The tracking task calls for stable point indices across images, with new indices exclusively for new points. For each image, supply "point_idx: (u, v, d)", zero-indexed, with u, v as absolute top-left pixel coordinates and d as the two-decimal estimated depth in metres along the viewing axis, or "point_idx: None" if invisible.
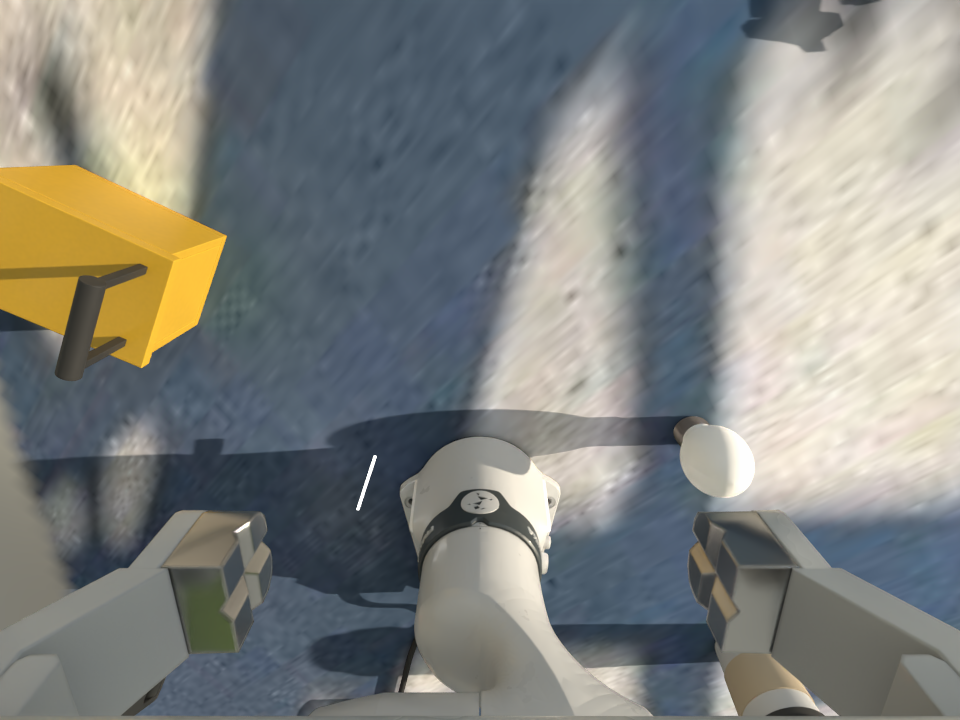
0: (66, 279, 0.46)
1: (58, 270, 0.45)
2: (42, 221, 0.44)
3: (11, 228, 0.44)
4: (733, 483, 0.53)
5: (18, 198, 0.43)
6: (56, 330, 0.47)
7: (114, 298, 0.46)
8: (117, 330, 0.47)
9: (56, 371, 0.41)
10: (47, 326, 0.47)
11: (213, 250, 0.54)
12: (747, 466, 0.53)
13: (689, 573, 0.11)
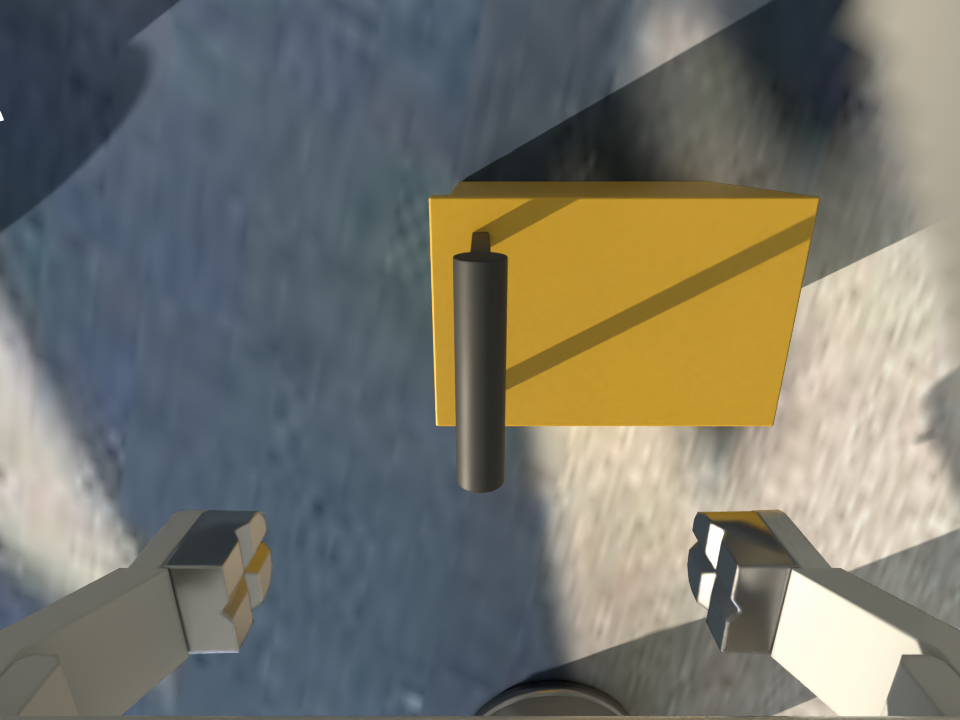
0: (603, 317, 0.24)
1: (619, 326, 0.24)
2: (654, 396, 0.26)
3: (705, 363, 0.25)
4: None
5: (696, 414, 0.26)
6: (608, 202, 0.23)
7: (514, 319, 0.24)
8: None
9: (497, 271, 0.17)
10: (626, 203, 0.23)
11: None
12: None
13: (689, 573, 0.11)
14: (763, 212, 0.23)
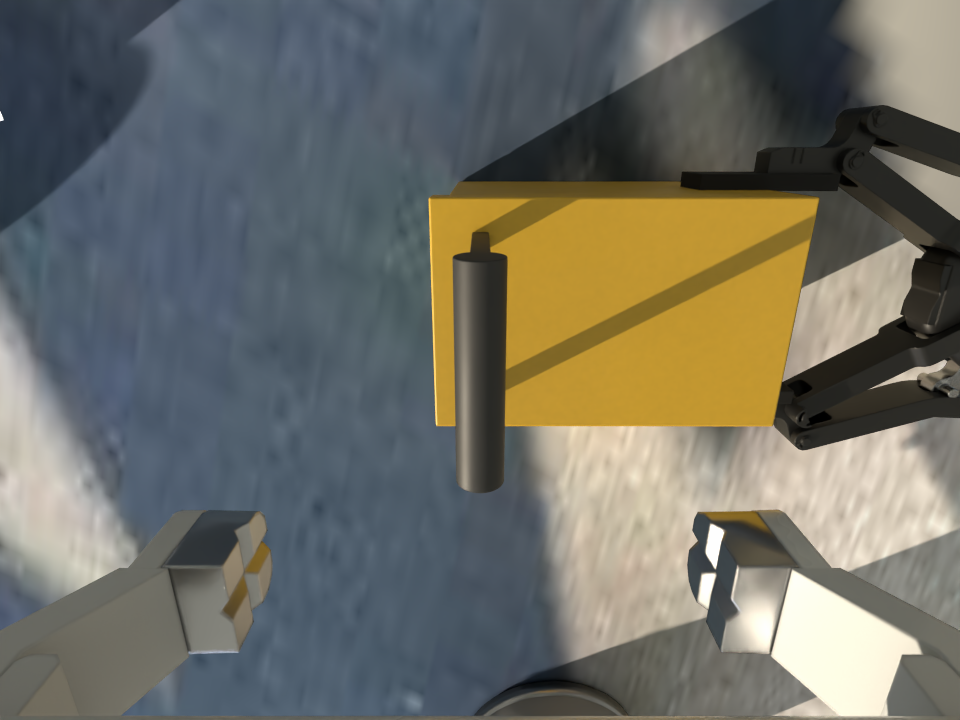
0: (603, 317, 0.24)
1: (619, 326, 0.24)
2: (654, 396, 0.26)
3: (705, 363, 0.25)
4: None
5: (696, 415, 0.26)
6: (608, 203, 0.23)
7: (514, 319, 0.24)
8: None
9: (496, 272, 0.17)
10: (626, 203, 0.23)
11: None
12: None
13: (689, 573, 0.11)
14: (763, 212, 0.23)
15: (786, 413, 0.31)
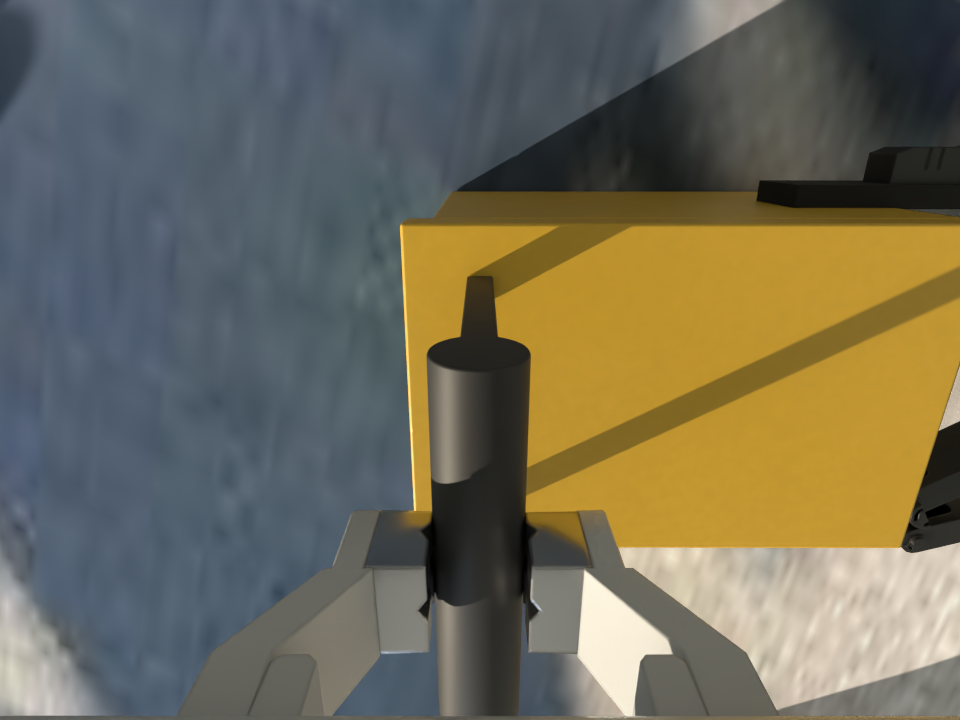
0: (662, 399, 0.16)
1: (686, 412, 0.17)
2: (733, 508, 0.18)
3: (810, 463, 0.17)
4: None
5: (791, 533, 0.18)
6: (677, 232, 0.15)
7: (529, 403, 0.16)
8: (500, 316, 0.15)
9: (510, 387, 0.09)
10: (705, 233, 0.15)
11: None
12: None
13: None
14: (915, 247, 0.15)
15: None
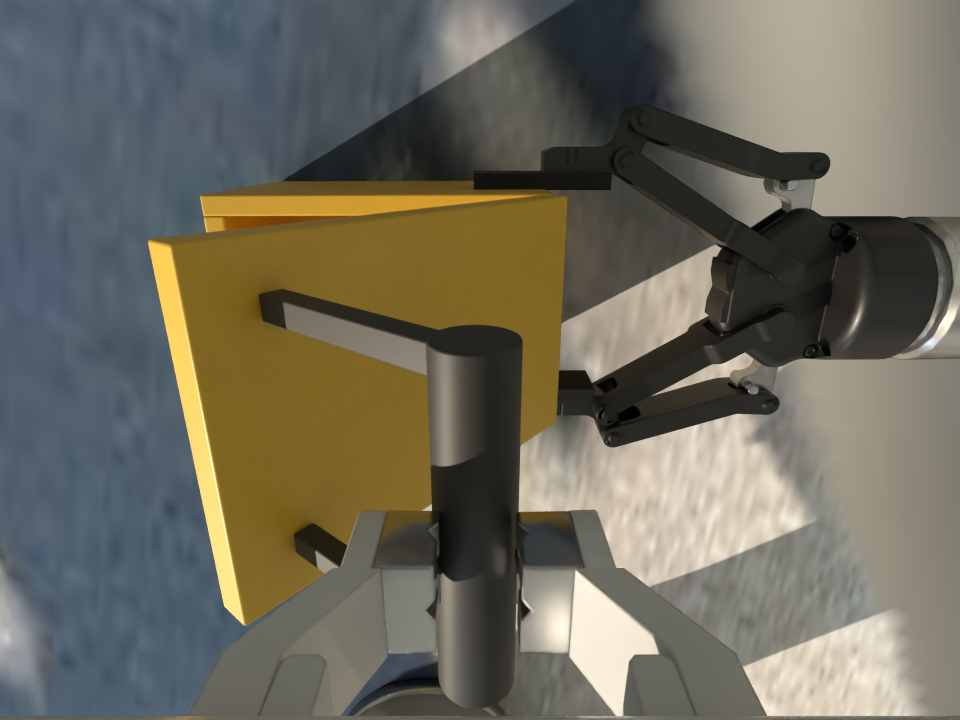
0: None
1: None
2: None
3: None
4: None
5: None
6: (420, 221, 0.17)
7: (335, 410, 0.16)
8: None
9: (522, 357, 0.10)
10: (437, 220, 0.17)
11: None
12: None
13: None
14: (537, 215, 0.22)
15: (593, 411, 0.31)
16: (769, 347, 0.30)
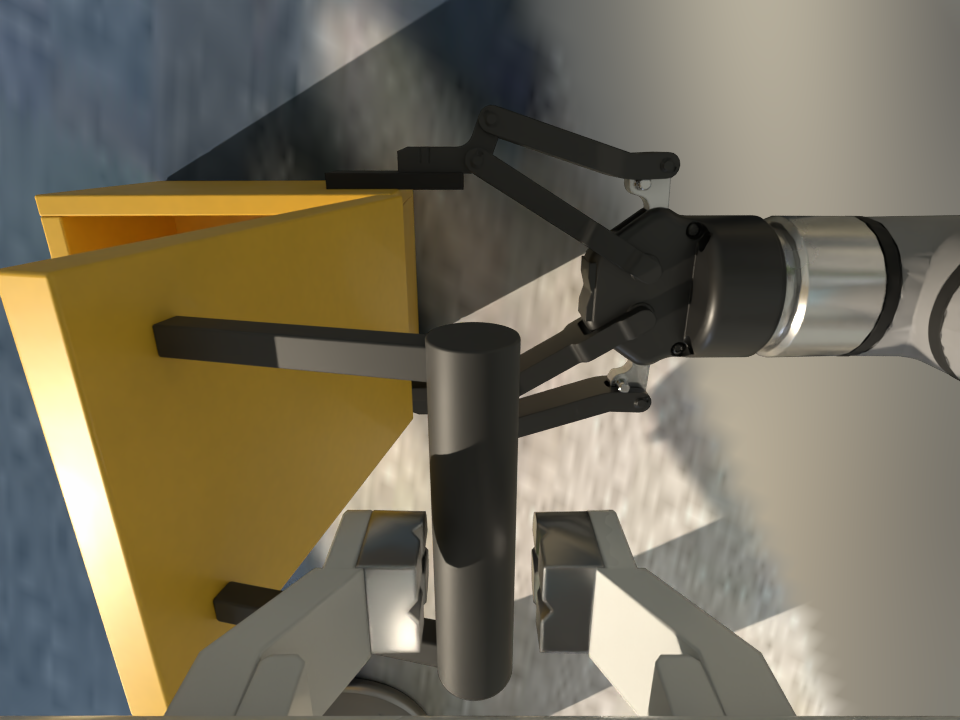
0: (314, 384, 0.17)
1: (327, 387, 0.18)
2: (360, 448, 0.21)
3: (379, 387, 0.23)
4: None
5: (382, 444, 0.23)
6: (293, 227, 0.16)
7: (238, 448, 0.14)
8: (194, 362, 0.12)
9: None
10: (307, 225, 0.16)
11: None
12: None
13: None
14: (383, 216, 0.21)
15: None
16: (636, 345, 0.30)
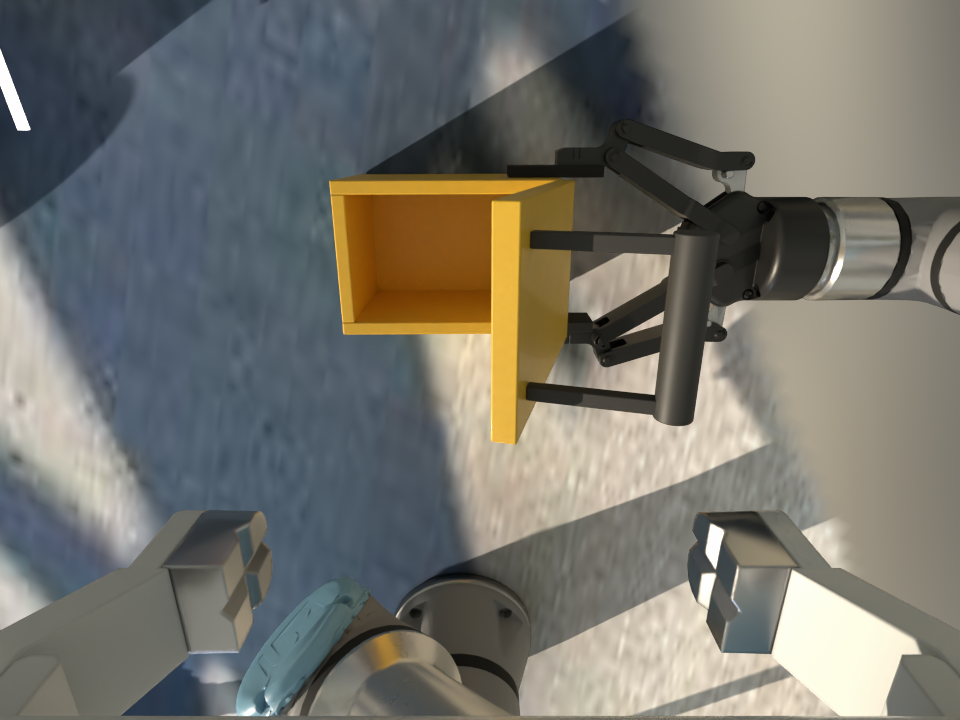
0: (549, 288, 0.29)
1: (551, 293, 0.30)
2: (554, 341, 0.33)
3: (561, 305, 0.34)
4: None
5: (558, 345, 0.35)
6: (553, 193, 0.28)
7: (535, 309, 0.26)
8: (533, 255, 0.24)
9: None
10: (555, 192, 0.28)
11: None
12: None
13: (689, 573, 0.11)
14: (570, 192, 0.33)
15: (592, 340, 0.43)
16: (717, 291, 0.42)
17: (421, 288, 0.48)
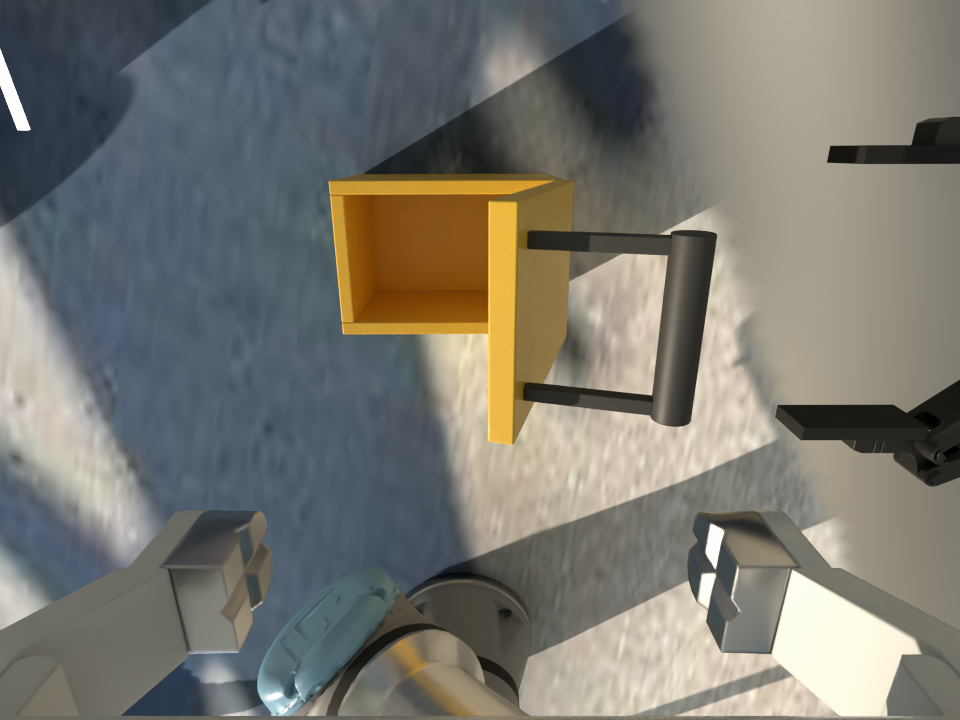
0: (548, 288, 0.29)
1: (550, 293, 0.30)
2: (553, 341, 0.33)
3: (560, 305, 0.34)
4: None
5: (557, 345, 0.35)
6: (551, 193, 0.28)
7: (533, 309, 0.26)
8: (531, 256, 0.24)
9: None
10: (553, 193, 0.28)
11: None
12: None
13: (688, 573, 0.11)
14: (569, 192, 0.33)
15: (916, 450, 0.30)
16: None
17: (421, 288, 0.48)
